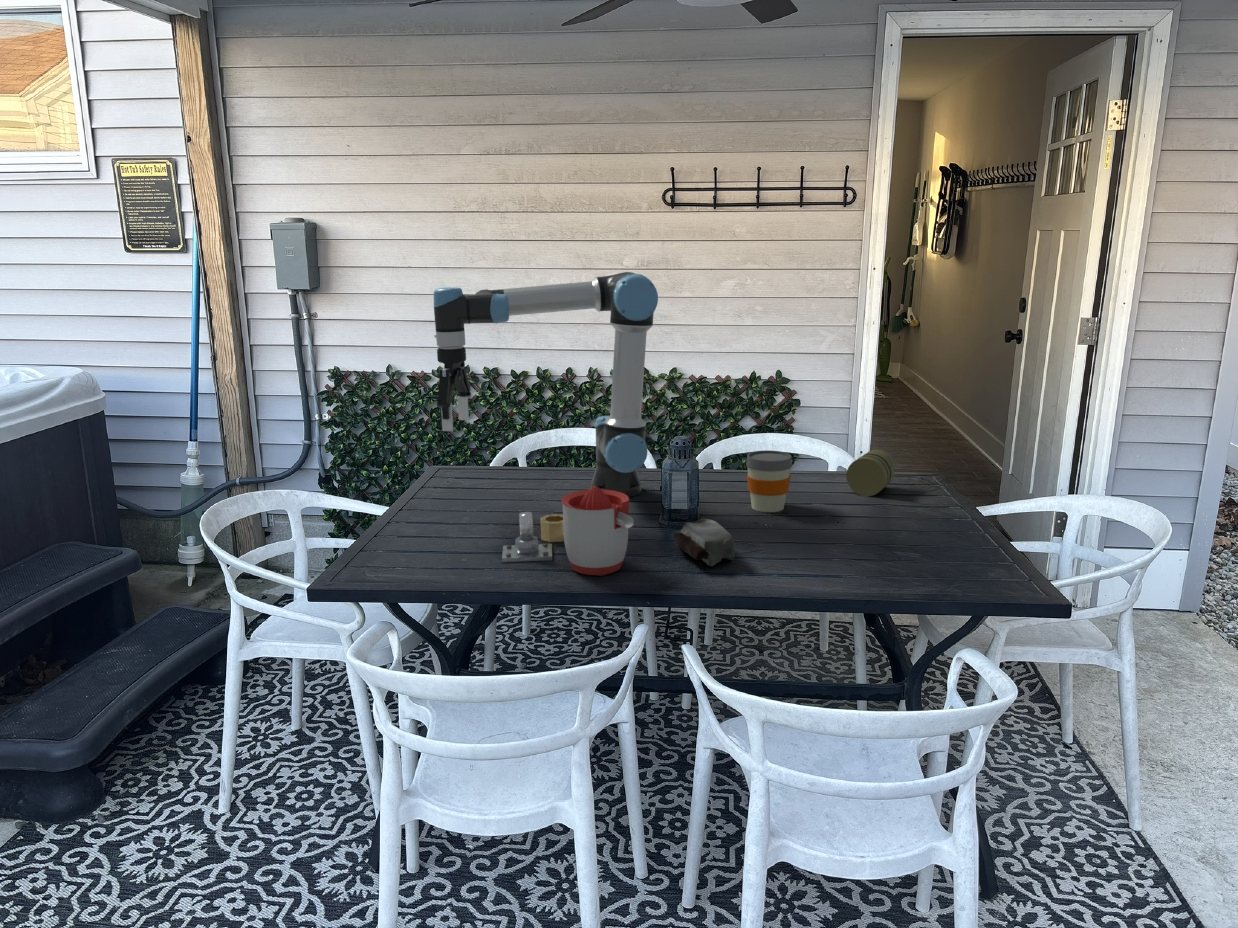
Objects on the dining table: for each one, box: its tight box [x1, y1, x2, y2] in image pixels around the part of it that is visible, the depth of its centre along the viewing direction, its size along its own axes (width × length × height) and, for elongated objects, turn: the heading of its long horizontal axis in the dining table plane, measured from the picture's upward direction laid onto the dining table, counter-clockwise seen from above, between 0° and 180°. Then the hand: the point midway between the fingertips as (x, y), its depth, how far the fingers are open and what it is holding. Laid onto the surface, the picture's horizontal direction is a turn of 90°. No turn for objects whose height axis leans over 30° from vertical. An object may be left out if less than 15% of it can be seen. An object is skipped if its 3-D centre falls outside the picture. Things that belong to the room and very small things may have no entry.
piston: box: [845, 449, 896, 497], centre depth 275 cm, size 11×12×11 cm
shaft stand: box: [501, 511, 553, 563], centre depth 226 cm, size 12×9×10 cm
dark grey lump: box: [673, 517, 736, 567], centre depth 224 cm, size 18×11×8 cm, turn 18°
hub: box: [539, 513, 564, 543], centre depth 239 cm, size 7×7×5 cm
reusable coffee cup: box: [745, 450, 793, 513], centre depth 260 cm, size 13×13×15 cm
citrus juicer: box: [560, 486, 635, 577], centre depth 216 cm, size 16×17×20 cm
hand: (456, 425), depth 252 cm, fingers open, 13 cm apart
